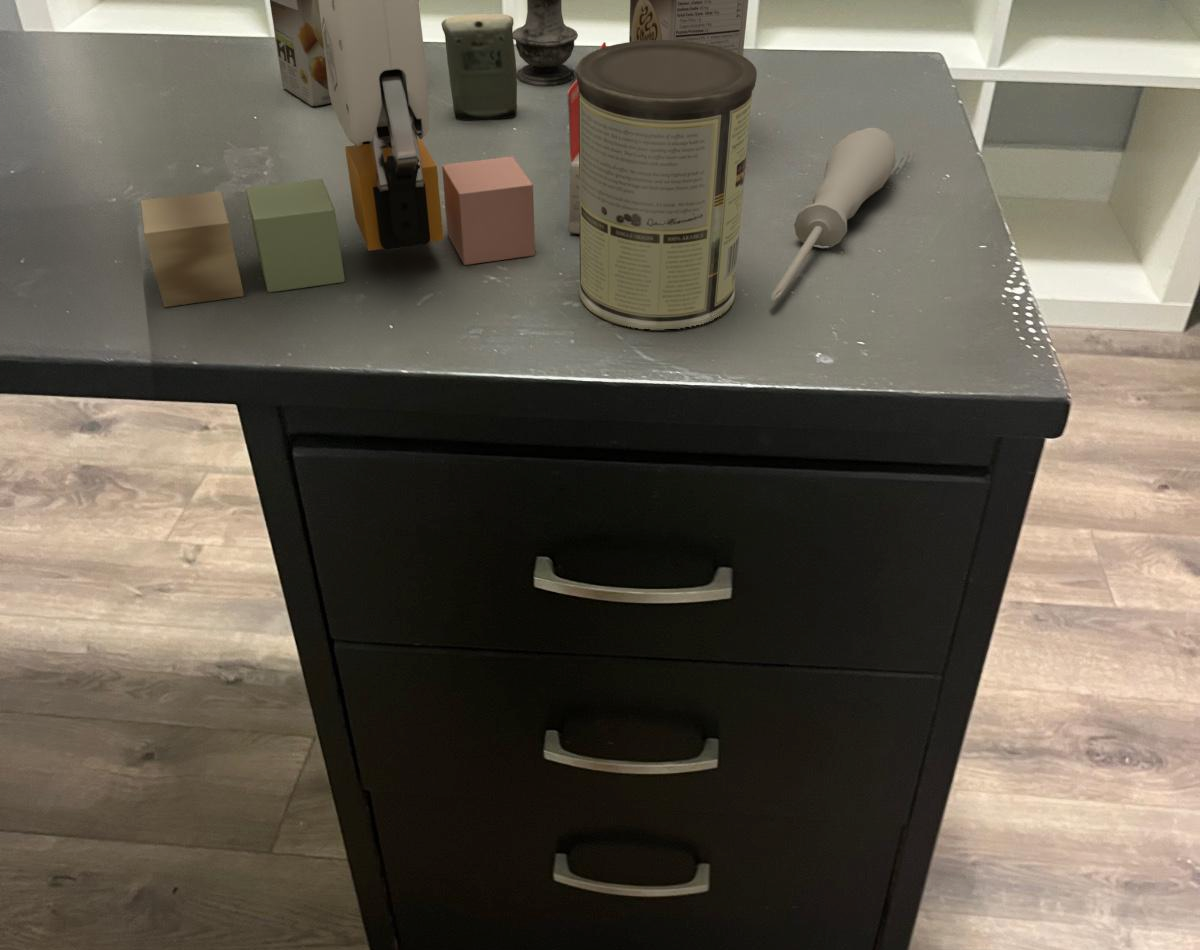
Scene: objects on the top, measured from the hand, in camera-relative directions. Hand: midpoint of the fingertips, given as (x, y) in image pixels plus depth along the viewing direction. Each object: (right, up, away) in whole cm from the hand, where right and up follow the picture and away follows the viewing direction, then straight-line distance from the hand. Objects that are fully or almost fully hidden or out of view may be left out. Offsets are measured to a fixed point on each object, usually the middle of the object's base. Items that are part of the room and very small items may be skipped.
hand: (396, 224), depth 78 cm
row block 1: (-12, -4, -2) cm, 13 cm away
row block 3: (+6, 0, +3) cm, 7 cm away
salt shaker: (+9, +23, +29) cm, 38 cm away
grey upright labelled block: (+4, +16, +21) cm, 27 cm away
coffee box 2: (+20, +12, +18) cm, 30 cm away
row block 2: (-6, -3, 0) cm, 7 cm away
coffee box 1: (-9, +20, +26) cm, 34 cm away
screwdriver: (+30, +1, +5) cm, 30 cm away
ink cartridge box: (+14, +4, +8) cm, 17 cm away
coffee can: (+17, -5, -2) cm, 18 cm away
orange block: (0, 0, 0) cm, 0 cm away
